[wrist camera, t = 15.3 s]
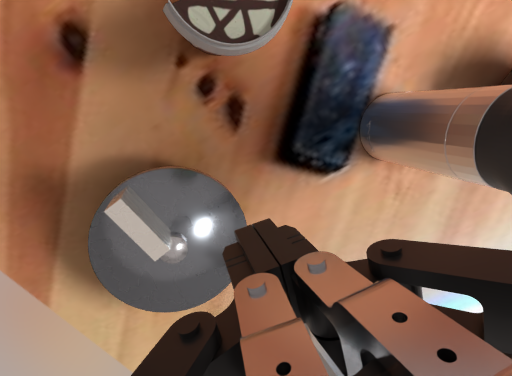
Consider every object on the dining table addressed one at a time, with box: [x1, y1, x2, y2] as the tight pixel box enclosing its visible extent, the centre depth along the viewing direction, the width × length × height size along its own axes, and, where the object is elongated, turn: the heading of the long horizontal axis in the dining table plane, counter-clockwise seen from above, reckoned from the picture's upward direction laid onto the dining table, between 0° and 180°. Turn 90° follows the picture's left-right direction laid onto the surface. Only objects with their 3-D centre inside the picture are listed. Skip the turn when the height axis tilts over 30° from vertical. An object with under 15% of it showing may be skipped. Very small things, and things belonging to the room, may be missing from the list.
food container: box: [163, 0, 293, 56], centre depth 31 cm, size 12×6×10 cm, turn 117°
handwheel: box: [88, 166, 247, 312], centre depth 33 cm, size 17×17×7 cm
